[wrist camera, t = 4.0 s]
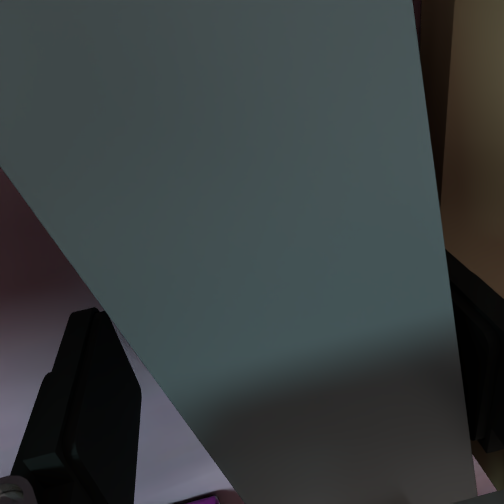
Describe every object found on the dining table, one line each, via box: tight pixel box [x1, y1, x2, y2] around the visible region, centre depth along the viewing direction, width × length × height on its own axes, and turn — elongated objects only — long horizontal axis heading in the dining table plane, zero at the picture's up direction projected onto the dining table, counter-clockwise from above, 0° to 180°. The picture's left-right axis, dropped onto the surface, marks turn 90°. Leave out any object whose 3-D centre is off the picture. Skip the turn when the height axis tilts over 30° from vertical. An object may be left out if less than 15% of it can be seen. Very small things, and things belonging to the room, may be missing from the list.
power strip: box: [0, 0, 478, 504], centre depth 9 cm, size 19×5×6 cm, turn 20°
